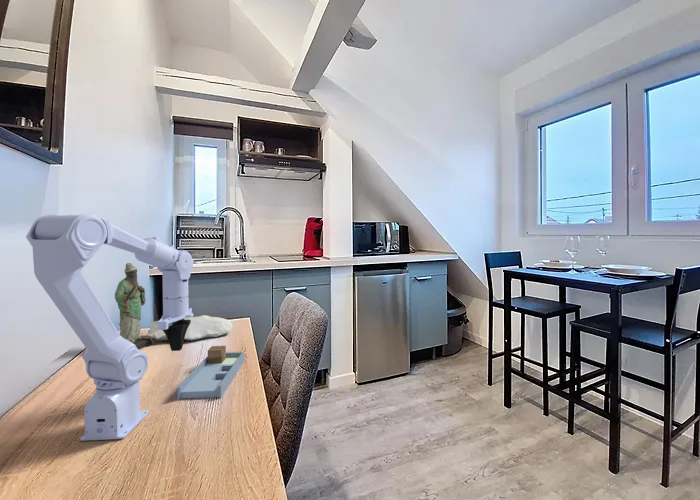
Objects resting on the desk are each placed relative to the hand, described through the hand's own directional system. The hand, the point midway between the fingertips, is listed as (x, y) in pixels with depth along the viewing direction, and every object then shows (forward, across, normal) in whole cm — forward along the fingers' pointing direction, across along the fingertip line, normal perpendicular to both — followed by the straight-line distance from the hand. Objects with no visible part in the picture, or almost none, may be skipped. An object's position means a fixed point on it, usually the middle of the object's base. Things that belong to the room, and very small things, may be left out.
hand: (176, 349), depth 81 cm
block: (+9, +14, -5) cm, 18 cm away
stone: (+11, +47, +14) cm, 50 cm away
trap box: (+10, +6, -8) cm, 14 cm away
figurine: (+10, +34, +31) cm, 47 cm away
